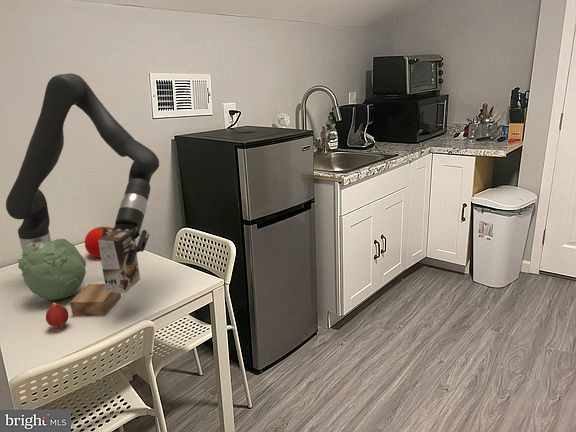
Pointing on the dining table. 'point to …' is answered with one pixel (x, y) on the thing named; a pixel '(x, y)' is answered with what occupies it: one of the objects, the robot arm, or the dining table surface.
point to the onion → (57, 315)
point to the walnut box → (94, 301)
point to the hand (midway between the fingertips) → (117, 263)
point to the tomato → (94, 241)
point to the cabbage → (52, 269)
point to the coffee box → (118, 261)
